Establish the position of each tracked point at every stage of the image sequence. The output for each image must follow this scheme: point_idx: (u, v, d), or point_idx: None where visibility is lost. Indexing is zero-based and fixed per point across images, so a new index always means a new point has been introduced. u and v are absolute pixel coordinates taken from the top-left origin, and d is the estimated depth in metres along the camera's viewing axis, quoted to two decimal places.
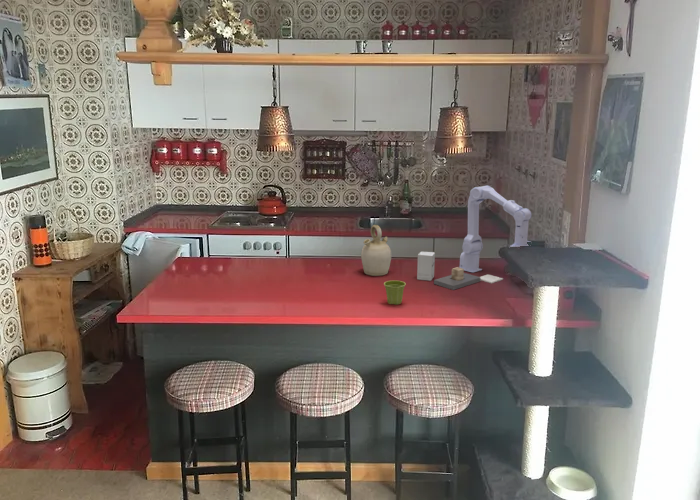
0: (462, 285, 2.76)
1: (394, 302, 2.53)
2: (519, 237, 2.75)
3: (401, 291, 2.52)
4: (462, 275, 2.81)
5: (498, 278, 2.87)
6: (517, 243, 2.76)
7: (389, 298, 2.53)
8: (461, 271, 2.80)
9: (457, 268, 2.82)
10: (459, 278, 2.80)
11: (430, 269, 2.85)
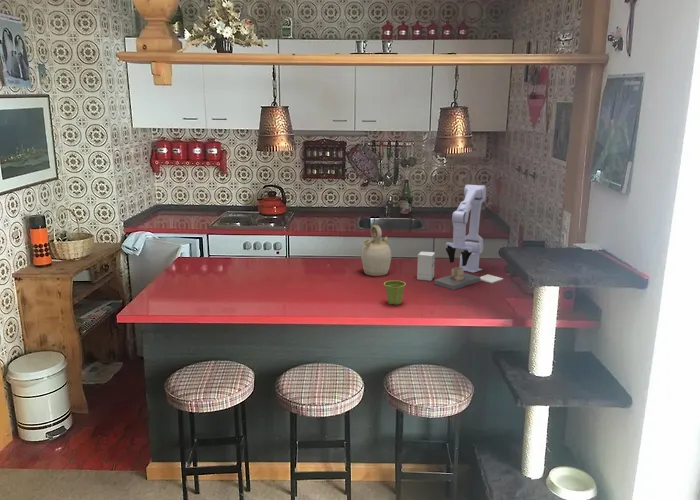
0: (462, 285, 2.76)
1: (394, 302, 2.53)
2: None
3: (401, 291, 2.52)
4: (462, 275, 2.81)
5: (498, 278, 2.87)
6: None
7: (389, 298, 2.53)
8: (461, 271, 2.80)
9: (457, 268, 2.82)
10: (459, 278, 2.80)
11: (430, 269, 2.85)
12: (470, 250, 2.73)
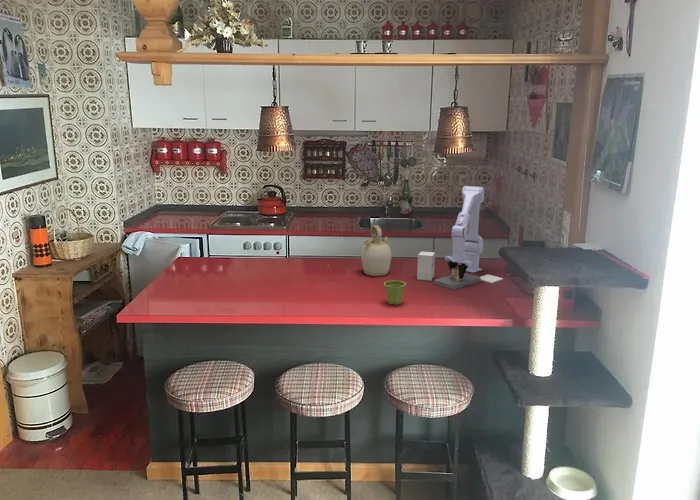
0: (462, 285, 2.76)
1: (394, 302, 2.53)
2: None
3: (401, 291, 2.52)
4: None
5: (498, 278, 2.87)
6: None
7: (389, 298, 2.53)
8: None
9: (457, 268, 2.82)
10: None
11: (430, 269, 2.85)
12: (469, 264, 2.75)
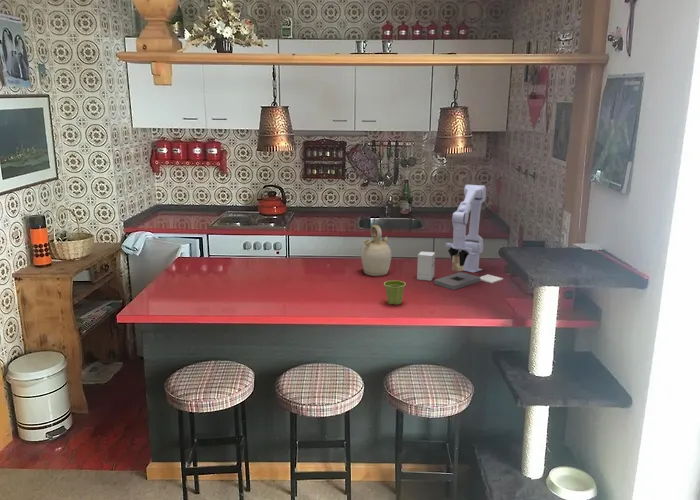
0: (462, 285, 2.76)
1: (394, 302, 2.53)
2: None
3: (401, 291, 2.52)
4: None
5: (498, 278, 2.87)
6: None
7: (389, 298, 2.53)
8: None
9: (458, 255, 2.80)
10: None
11: (430, 269, 2.85)
12: (470, 251, 2.73)
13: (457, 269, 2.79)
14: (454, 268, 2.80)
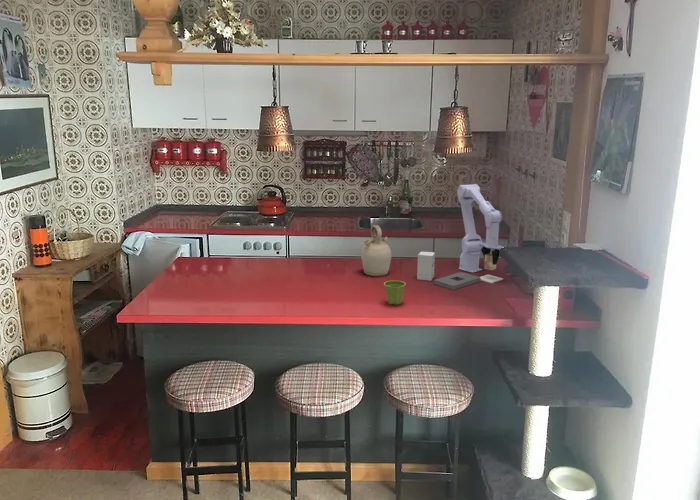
0: (462, 285, 2.76)
1: (394, 302, 2.53)
2: None
3: (401, 291, 2.52)
4: None
5: (498, 278, 2.87)
6: None
7: (389, 298, 2.53)
8: None
9: (490, 254, 2.85)
10: (492, 264, 2.83)
11: (430, 269, 2.85)
12: None
13: (489, 268, 2.84)
14: (486, 267, 2.85)
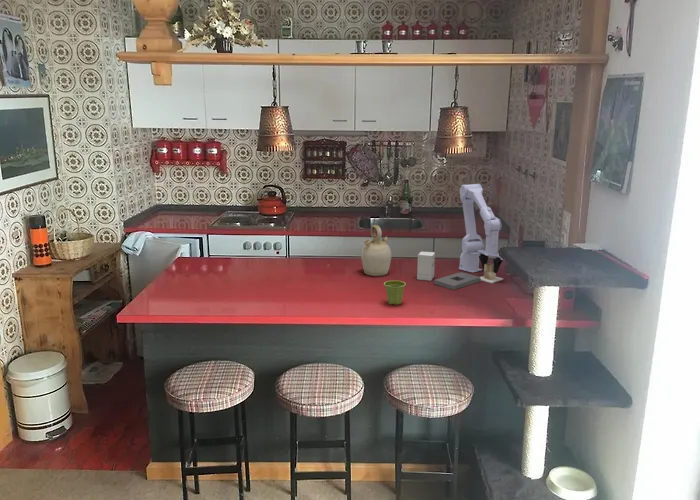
0: (462, 285, 2.76)
1: (394, 302, 2.53)
2: None
3: (401, 291, 2.52)
4: None
5: (498, 278, 2.87)
6: None
7: (389, 298, 2.53)
8: None
9: (489, 264, 2.86)
10: (492, 274, 2.85)
11: (430, 269, 2.85)
12: None
13: (489, 277, 2.85)
14: (486, 276, 2.86)
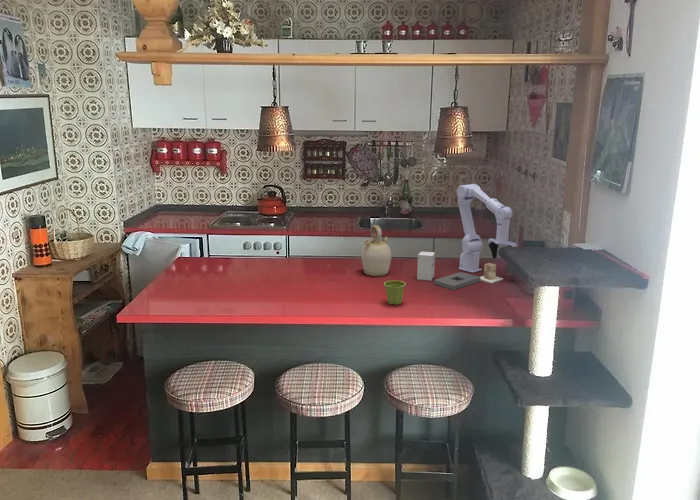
0: (462, 285, 2.76)
1: (394, 302, 2.53)
2: None
3: (401, 291, 2.52)
4: (494, 271, 2.86)
5: (498, 278, 2.87)
6: None
7: (389, 298, 2.53)
8: (494, 267, 2.85)
9: (489, 264, 2.86)
10: (492, 274, 2.85)
11: (430, 269, 2.85)
12: (514, 246, 2.78)
13: (489, 277, 2.85)
14: (486, 276, 2.86)
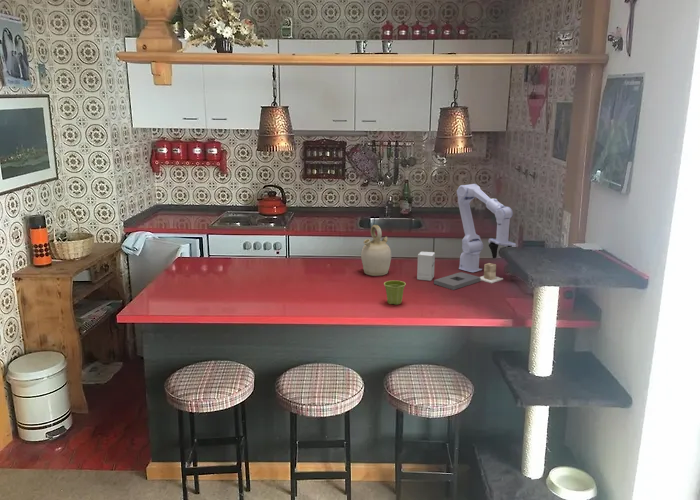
0: (462, 285, 2.76)
1: (394, 302, 2.53)
2: None
3: (401, 291, 2.52)
4: (494, 271, 2.86)
5: (498, 278, 2.87)
6: None
7: (389, 298, 2.53)
8: (494, 267, 2.85)
9: (489, 264, 2.86)
10: (492, 274, 2.85)
11: (430, 269, 2.85)
12: (514, 246, 2.78)
13: (489, 277, 2.85)
14: (486, 276, 2.86)
